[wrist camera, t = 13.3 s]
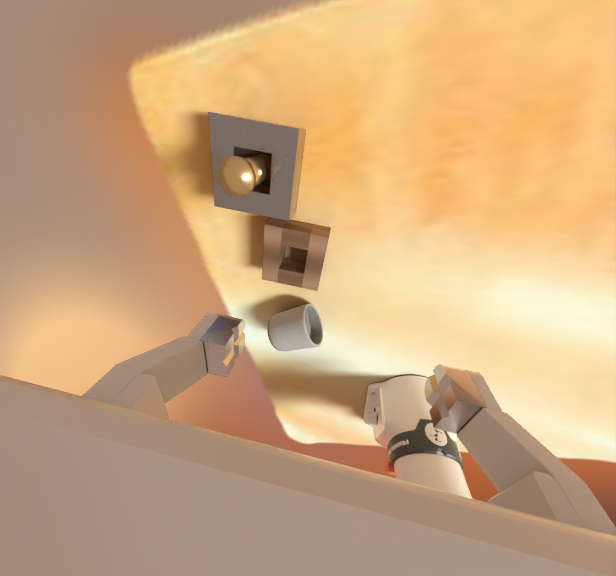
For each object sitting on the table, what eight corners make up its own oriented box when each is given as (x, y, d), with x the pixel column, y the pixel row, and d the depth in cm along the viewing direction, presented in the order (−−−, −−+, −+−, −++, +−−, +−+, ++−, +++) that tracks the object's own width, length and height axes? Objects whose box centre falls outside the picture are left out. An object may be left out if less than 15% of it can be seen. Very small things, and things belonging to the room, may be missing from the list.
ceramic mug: (271, 307, 45) (258, 336, 39) (308, 294, 42) (301, 323, 36) (296, 343, 50) (289, 374, 44) (331, 334, 47) (329, 366, 41)
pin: (276, 184, 33) (252, 200, 25) (250, 179, 33) (217, 194, 25) (278, 153, 31) (252, 160, 22) (250, 148, 31) (214, 153, 23)
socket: (296, 210, 35) (288, 220, 30) (230, 197, 35) (214, 206, 31) (306, 129, 29) (298, 128, 25) (228, 115, 29) (208, 111, 25)
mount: (319, 278, 40) (317, 290, 37) (268, 267, 40) (261, 279, 37) (330, 227, 35) (328, 237, 32) (272, 216, 35) (264, 224, 32)
